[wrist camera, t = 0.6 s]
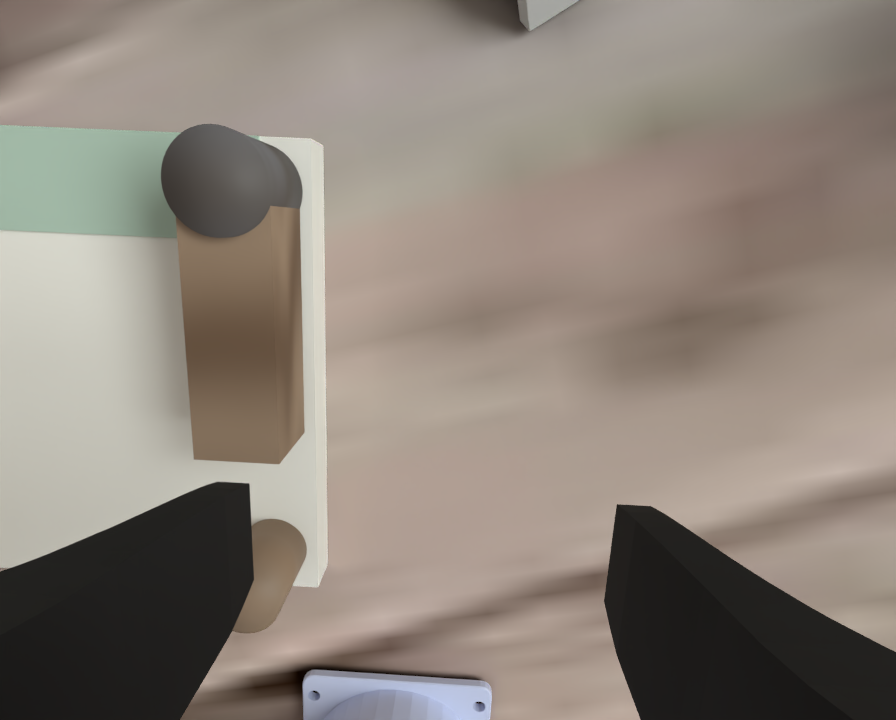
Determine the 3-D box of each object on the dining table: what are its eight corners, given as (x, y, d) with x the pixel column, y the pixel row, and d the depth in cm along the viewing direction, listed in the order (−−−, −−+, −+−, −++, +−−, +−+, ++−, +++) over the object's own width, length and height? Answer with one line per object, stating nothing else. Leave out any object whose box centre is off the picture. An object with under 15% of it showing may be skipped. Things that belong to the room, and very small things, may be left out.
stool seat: (328, 563, 22) (293, 646, 18) (-55, 540, 22) (-182, 616, 18) (323, 145, 18) (277, 120, 14) (-140, 126, 19) (-326, 95, 14)
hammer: (210, 139, 17) (156, 121, 14) (301, 143, 17) (266, 126, 14) (227, 428, 19) (183, 464, 16) (307, 432, 19) (277, 470, 16)
